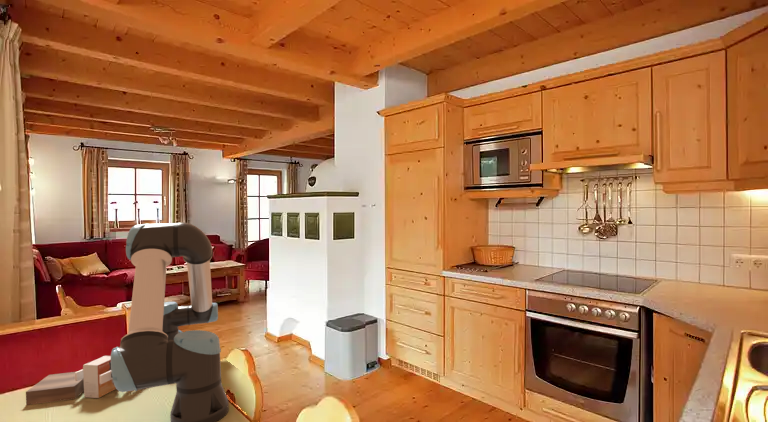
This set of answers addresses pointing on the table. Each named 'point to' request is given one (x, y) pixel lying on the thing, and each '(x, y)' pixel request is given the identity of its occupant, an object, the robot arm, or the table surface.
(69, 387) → the walnut riser
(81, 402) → the table surface
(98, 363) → the small box
